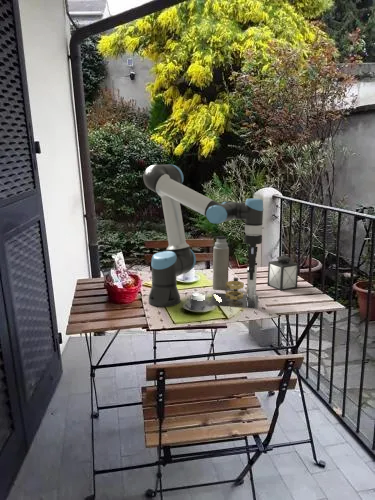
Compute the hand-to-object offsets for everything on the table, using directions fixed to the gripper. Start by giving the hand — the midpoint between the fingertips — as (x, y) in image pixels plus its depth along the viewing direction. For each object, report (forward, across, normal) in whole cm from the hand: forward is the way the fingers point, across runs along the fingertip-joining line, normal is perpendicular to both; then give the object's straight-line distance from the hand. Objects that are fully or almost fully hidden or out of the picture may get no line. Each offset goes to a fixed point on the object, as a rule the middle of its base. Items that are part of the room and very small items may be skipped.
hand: (251, 282), depth 185 cm
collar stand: (+12, +6, +8) cm, 16 cm away
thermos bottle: (+13, +27, +17) cm, 34 cm away
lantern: (+13, +37, -15) cm, 42 cm away
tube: (+11, 0, 0) cm, 11 cm away
